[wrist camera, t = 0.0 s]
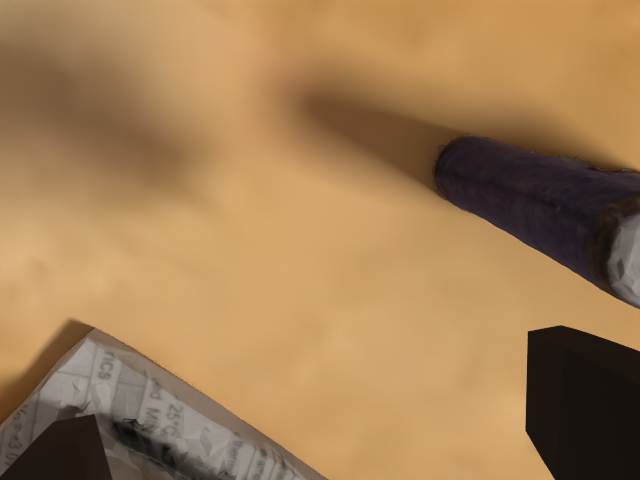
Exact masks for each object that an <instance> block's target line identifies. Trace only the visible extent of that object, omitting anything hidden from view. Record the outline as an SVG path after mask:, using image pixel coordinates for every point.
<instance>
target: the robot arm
mask: <svg viewBox="0 0 640 480" xmlns="http://www.w3.org/2000/svg"><path fill="white" fill-rule="evenodd" d="M526 432H527V434H528V436H529V437H530V439H531V441H532V443H533V444H534V446H535V448H536V449H537V451H538V453H539V455H540V456H541V458H542V460H543V461H544V463H545V464H546V466H547V468H548V469H549V471H550V472H551V474H552V476H553V477H554V479H555V480H640V351H637V350H635V349H632V348H629V347H626V346H624V345H621V344H618V343H615V342H612V341H610V340H607V339H604V338H601V337H598V336H595V335H592V334H589V333H586V332H583V331H580V330H577V329H573V328H569V327H565V326H561V325H560V326H555V327H549V328H544V329H539V330H534V331H528V350H527V391H526ZM0 480H113V479H112V475H111V472H110V468H109V464H108V461H107V457H106V454H105V450H104V446H103V443H102V439H101V435H100V432H99V428H98V425H97V421H96V417H95V414H91V415H86V416H81V417H76V418H70V419H65V420H60V421H54V422H53V423H52V424H51V425H49V426H48V427H47V428H46V429H45V430H44V431H43V432H42V433H41V434H40V435H39V436H38V437H37V438H36V439H35V440H34V441H33V442H32V443H31V444H30V446H29V447H28V448H27V449H26V450H25V451H24V452H23V453H22V454H21V455H20V456H19V457H18V458H17V459H16V460H15V461H14V462H13V463H12V465H11V466H10V467H9V468H8V469H7V470H6V471H5V472H4V473H3V474H2V475H1V476H0Z"/></svg>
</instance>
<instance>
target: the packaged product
mask: <svg viewBox="0 0 640 480" xmlns="http://www.w3.org/2000/svg"><path fill="white" fill-rule="evenodd" d="M91 414H95V417H96V421H97V425H98V428H99V432H100V435H101V439H102V443H103V446H104V450H105V454H106V457H107V461H108V464H109V468H110V472H111V475H112V479H113V480H328V479H327V478H325V477H324V476H322V475H321V474H320V473H318V472H317V471H315V470H314V469H313V468H311V467H310V466H308V465H307V464H305V463H304V462H303V461H301V460H300V459H298V458H297V457H296V456H294V455H293V454H291V453H290V452H289V451H287V450H286V449H285V448H283V447H282V446H281V445H279V444H278V443H276V442H275V441H273V440H272V439H270V438H269V437H267V436H266V435H264V434H263V433H261V432H260V431H259V430H257V429H256V428H254V427H253V426H251V425H250V424H248V423H247V422H245V421H244V420H242V419H240V418H239V417H237V416H236V415H234V414H233V413H232V412H230V411H229V410H227V409H226V408H224V407H223V406H222V405H220V404H219V403H217V402H216V401H214V400H212V399H211V398H209V397H208V396H206V395H204V394H203V393H201V392H200V391H198V390H197V389H195V388H193V387H192V386H190V385H189V384H187V383H186V382H184V381H182V380H181V379H179V378H178V377H176V376H175V375H173V374H171V373H170V372H168V371H167V370H165V369H163V368H162V367H160V366H159V365H157V364H156V363H154V362H152V361H151V360H149V359H148V358H146V357H145V356H143V355H141V354H140V353H138V352H137V351H135V350H134V349H132V348H130V347H129V346H127V345H126V344H124V343H123V342H121V341H119V340H118V339H116V338H114V337H112V336H110V335H109V334H107V333H105V332H103V331H101V330H99V329H97V328H94V329H93V330H91V331H90V332H89V333H88V334H87V335H85V336H84V337H83V338H82V339H81V340H80V341H79V342H78V343H76V344H75V345H74V346H73V347H72V348H71V349H70V350H69V351H68V352H67V353H65V354H64V355H63V356H62V357H61V358H60V359H59V360H58V361H57V362H56V364H55V365H54V366H53V367H52V368H51V370H50V371H49V372H48V373H47V375H46V376H45V377H44V378H43V379H42V381H41V382H40V383H39V384H38V385H37V387H36V388H35V389H34V390H33V392H32V393H31V394H30V395H29V397H28V398H27V399H26V400H25V401H24V402H23V403H22V404H21V405H20V406H19V407H18V408H17V409H16V410H15V411H14V412H13V413H12V414H11V415H10V416H9V417H8V418H7V419H6V420H5V421H4V422H3V423H2V424H1V425H0V476H1V475H2V474H3V473H4V472H5V471H6V470H7V469H8V468H9V467H10V466H11V465H12V463H13V462H14V461H15V460H16V459H17V458H18V457H19V456H20V455H21V454H22V453H23V452H24V451H25V450H26V449H27V448H28V447H29V446H30V444H31V443H32V442H33V441H34V440H35V439H36V438H37V437H38V436H39V435H40V434H41V433H42V432H43V431H44V430H45V429H46V428H47V427H48V426H49V425H51V424H52V423H53V422H54V421H60V420H65V419H70V418H76V417H81V416H86V415H91Z"/></svg>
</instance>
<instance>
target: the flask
mask: <svg viewBox="0 0 640 480" xmlns="http://www.w3.org/2000/svg"><path fill="white" fill-rule="evenodd" d="M439 150H440V153H439V155H438V157H437V160H435V165H434V167H433V170H432V174H433V180H434V188H435V189H436V190H437V191H438V192H439V194H440V195H441V196H442V197H443V198H444V199H447V200H449V201H450V202H451V203H452V204H453V205H455V206H457V207H459V208H461V209H462V210H464V211H466V210H467V211H468V212H470V213H474V214H475V215H477V216H479V217H481V218H483V219H485V220H487V221H488V222H490V223H491V224H493V225H494V226H496V227H498V228H500V229H502V230H504V231H506V232H508V233H509V234H511V235H513V236H514V237H516V238H517V239H519V240H520V241H522V242H523V243H525V244H527V245H528V246H530V247H532V248H534V249H536V250H538V251H540V252H542V253H543V254H545V255H547V256H549V257H550V258H552V259H553V260H555V261H557V262H558V263H560V264H561V265H563V266H565V267H567V268H569V269H570V270H572V271H573V272H575V273H577V274H579V275H580V276H581V277H583V278H584V279H586V280H588V281H589V282H591V283H593V284H594V285H595V286H597V287H598V288H599V289H601V290H603V291H605V292H606V293H608V294H610V295H612V296H613V297H615V298H617V299H619V300H621V301H623V302H625V303H627V304H629V305H631V306H633V307H635V308H638V309H640V174H639V173H635V172H634V171H632V170H631V169H625V168H622V169H621V171H620V172H619V171H609V170H605V169H603V168H601V169H599V168H597V167H596V166H594V167H593V165H592V166H591V163H590V162H587V161H581V160H579V159H578V158H577V157H574V158H569V157H566V156H563V157H560V158H559V156H558V158H554V157H551V156H544V155H540V154H538V153H535V151H534V149H533V150H532V151H525V150H523V149H520V148H516V147H512V146H510V145H508V144H504V142H502V143H500V142H497V141H494V140H491V139H489V138H484V137H478V136H475V135H473V134H467V135H465V136H461V137H459V138H457V139H456V140H452V141H451V142H450V143H449V144H447V145H441V146H439Z"/></svg>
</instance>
